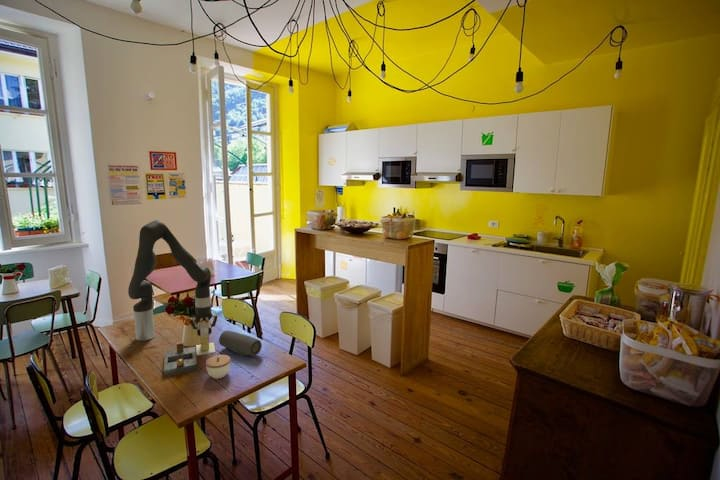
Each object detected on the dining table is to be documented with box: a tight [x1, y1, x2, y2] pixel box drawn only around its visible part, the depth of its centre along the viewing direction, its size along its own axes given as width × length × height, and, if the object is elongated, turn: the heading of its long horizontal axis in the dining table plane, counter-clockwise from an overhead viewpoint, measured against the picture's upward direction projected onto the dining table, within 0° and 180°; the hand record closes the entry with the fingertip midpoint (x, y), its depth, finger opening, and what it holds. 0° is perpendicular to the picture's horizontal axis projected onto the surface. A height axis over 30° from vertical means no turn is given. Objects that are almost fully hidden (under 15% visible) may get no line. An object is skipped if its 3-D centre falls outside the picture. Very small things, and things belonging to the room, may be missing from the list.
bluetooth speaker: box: [218, 330, 263, 357], centre depth 187 cm, size 23×9×10 cm, turn 63°
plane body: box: [163, 341, 198, 377], centre depth 174 cm, size 20×14×7 cm
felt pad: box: [195, 342, 216, 357], centre depth 190 cm, size 12×9×1 cm
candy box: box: [199, 320, 210, 351], centre depth 188 cm, size 9×4×15 cm, turn 26°
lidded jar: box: [205, 354, 231, 380], centre depth 164 cm, size 11×11×9 cm
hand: (204, 334), depth 188 cm, fingers closed on candy box, 4 cm apart
